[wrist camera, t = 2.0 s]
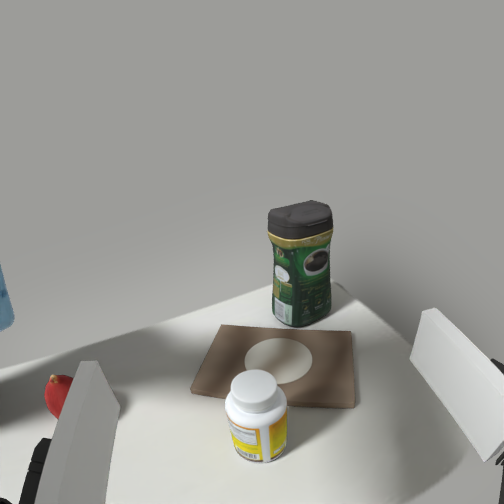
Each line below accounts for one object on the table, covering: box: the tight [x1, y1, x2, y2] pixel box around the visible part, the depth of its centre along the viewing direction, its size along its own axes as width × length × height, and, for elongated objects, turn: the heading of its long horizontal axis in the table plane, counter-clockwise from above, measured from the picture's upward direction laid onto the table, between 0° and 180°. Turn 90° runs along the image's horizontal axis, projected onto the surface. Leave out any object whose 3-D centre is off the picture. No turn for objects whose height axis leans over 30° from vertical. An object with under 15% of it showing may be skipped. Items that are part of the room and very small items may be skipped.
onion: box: [44, 375, 74, 419], centre depth 29 cm, size 6×6×8 cm
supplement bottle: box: [225, 370, 287, 463], centre depth 26 cm, size 6×6×10 cm
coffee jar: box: [268, 200, 333, 327], centre depth 48 cm, size 10×8×19 cm
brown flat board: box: [190, 324, 355, 408], centre depth 40 cm, size 20×14×1 cm
